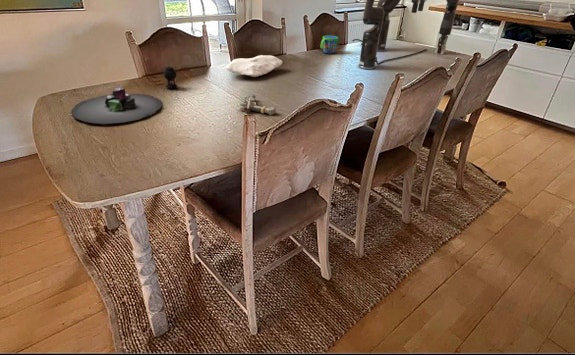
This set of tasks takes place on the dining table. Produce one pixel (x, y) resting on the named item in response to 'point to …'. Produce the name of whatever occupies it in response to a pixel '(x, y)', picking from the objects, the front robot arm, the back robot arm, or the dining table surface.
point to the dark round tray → (116, 108)
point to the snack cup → (329, 44)
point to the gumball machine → (170, 77)
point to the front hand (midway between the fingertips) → (417, 11)
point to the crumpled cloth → (254, 65)
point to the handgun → (255, 106)
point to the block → (441, 50)
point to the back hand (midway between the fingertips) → (439, 52)
